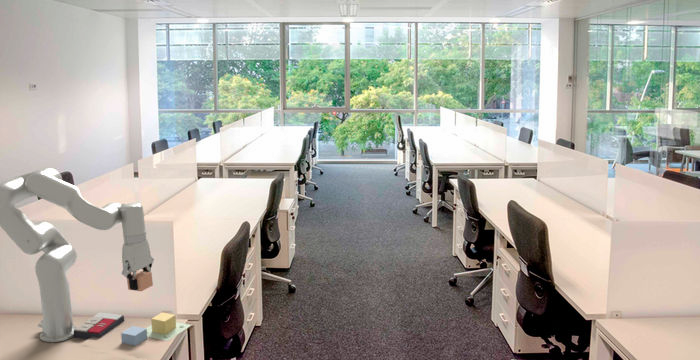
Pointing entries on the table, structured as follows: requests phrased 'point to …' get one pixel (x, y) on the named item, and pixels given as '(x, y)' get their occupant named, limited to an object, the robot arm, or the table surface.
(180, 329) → the build plate
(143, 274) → the terracotta brick
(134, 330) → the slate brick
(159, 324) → the ochre brick
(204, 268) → the table surface
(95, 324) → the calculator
